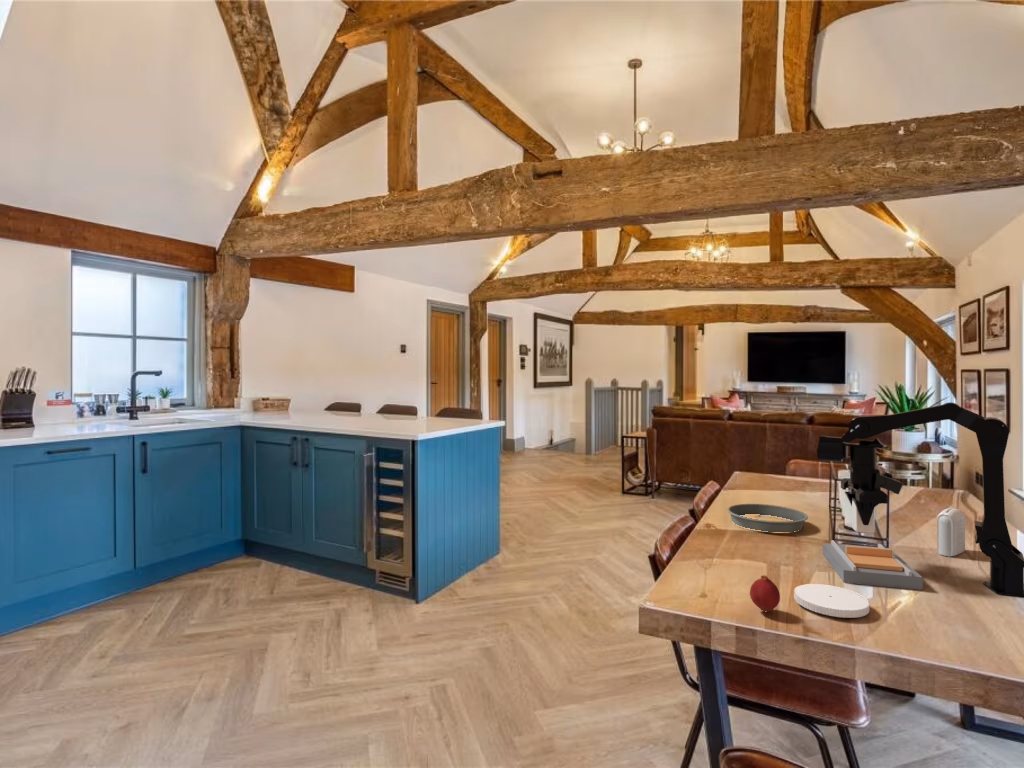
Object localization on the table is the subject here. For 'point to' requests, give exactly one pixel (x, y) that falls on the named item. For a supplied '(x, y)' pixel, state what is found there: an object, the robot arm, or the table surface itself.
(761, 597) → the onion
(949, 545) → the photo printer
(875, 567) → the shutter
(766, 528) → the cake pan
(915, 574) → the socket plate
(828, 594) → the plastic lid
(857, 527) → the plug
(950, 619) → the table surface
